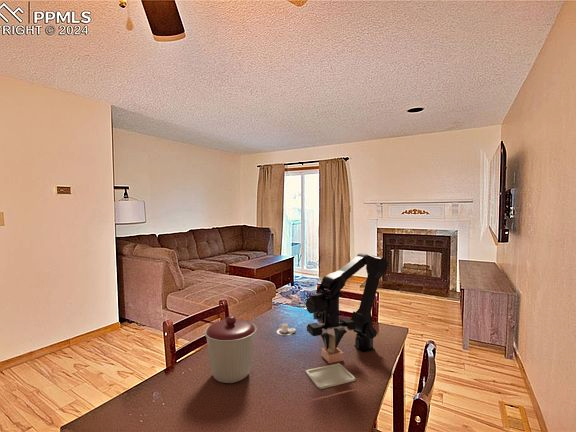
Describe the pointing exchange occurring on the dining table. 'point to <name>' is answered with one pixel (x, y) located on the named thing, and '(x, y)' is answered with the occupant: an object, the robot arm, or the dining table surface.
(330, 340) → the dowel
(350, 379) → the tray
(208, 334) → the canister
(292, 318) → the dining table surface
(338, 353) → the orange open box
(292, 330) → the teacup and saucer
